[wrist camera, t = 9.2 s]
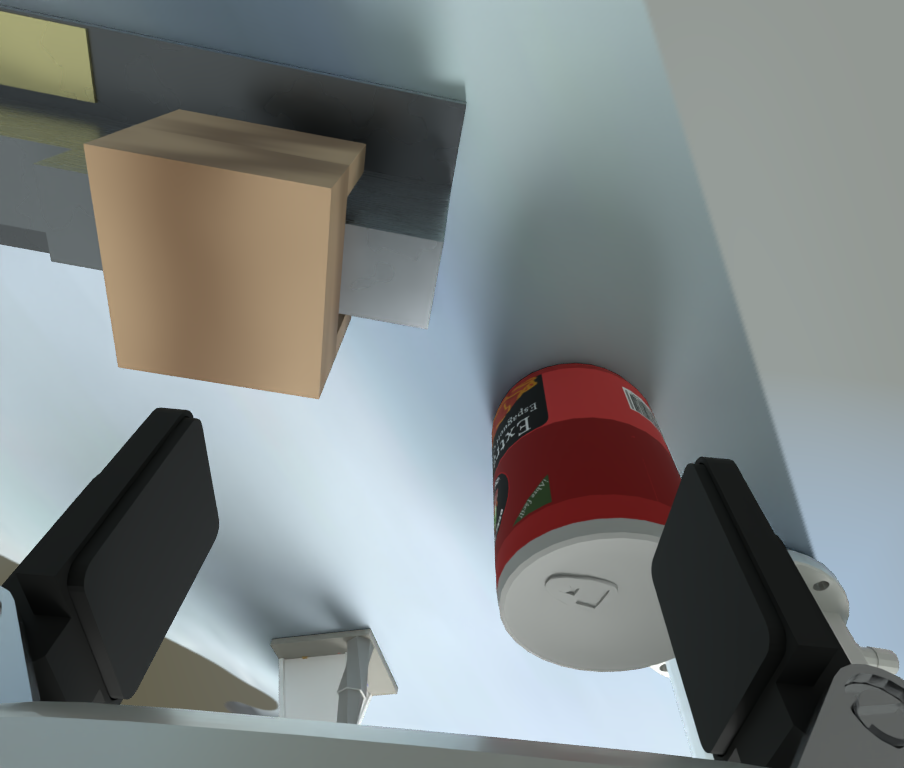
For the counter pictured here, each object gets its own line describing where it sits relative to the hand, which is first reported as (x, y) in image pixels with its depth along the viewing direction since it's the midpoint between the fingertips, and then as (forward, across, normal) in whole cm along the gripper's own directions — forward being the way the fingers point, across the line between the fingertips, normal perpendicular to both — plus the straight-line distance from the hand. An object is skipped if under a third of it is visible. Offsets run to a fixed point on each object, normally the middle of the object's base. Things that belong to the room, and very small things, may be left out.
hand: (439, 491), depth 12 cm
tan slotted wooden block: (+12, +7, -1) cm, 13 cm away
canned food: (+16, -6, +9) cm, 20 cm away
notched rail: (+16, +13, -2) cm, 20 cm away
